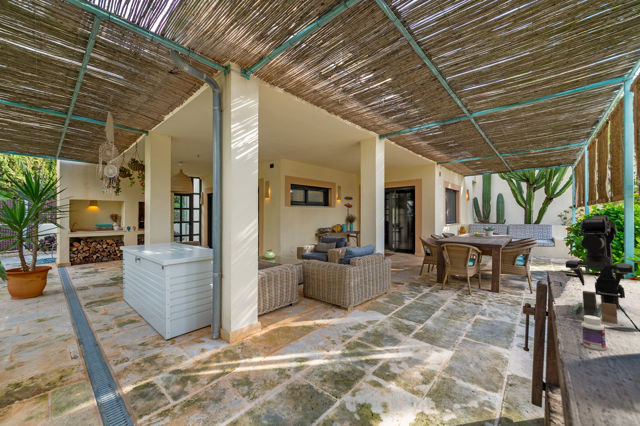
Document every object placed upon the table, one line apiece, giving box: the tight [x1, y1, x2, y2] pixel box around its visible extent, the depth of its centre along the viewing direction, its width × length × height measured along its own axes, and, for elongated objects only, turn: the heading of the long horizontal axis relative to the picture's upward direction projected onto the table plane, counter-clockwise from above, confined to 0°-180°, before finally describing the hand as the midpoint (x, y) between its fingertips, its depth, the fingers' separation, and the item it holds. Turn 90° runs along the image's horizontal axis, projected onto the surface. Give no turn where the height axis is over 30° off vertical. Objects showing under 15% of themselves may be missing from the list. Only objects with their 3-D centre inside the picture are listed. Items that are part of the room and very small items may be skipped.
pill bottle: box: [580, 315, 607, 351], centre depth 88 cm, size 5×5×10 cm
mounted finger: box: [582, 290, 598, 311], centre depth 121 cm, size 3×4×8 cm
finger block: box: [600, 302, 619, 325], centre depth 107 cm, size 3×4×8 cm
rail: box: [571, 302, 602, 318], centre depth 118 cm, size 16×8×3 cm, turn 128°
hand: (599, 287), depth 107 cm, fingers open, 9 cm apart
